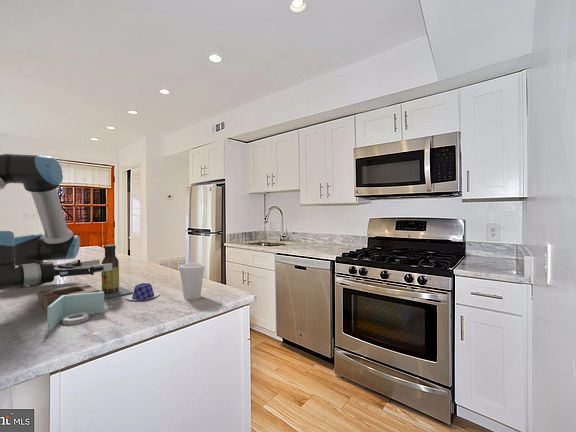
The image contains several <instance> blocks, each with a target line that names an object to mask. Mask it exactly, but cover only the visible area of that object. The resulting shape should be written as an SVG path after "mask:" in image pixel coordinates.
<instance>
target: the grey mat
mask: <svg viewBox="0 0 576 432" xmlns="http://www.w3.org/2000/svg"><path fill="white" fill-rule="evenodd" d="M98 290H99V292H102V289H98ZM133 293H134V291H132V290H129V289H127V288H125V287H123V286H121V285H119V291H118V292H115V293H110V294H105V293H104V301H105V300H109V299H113V298H118V297H122V296H127V295H128V296H129V295H131V294H133Z"/></svg>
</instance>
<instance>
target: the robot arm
mask: <svg viewBox="0 0 576 432" xmlns="http://www.w3.org/2000/svg"><path fill="white" fill-rule="evenodd" d="M63 173H64V172H63V169H62V165H61V164H60V162H59V161H58V160H57V159H56V158H55V157H52V156H49V155H48V156H47V155H42V154H38V155H33V154H14V153H3V154H0V191H1V190H4V189H5V188H6V185H9V184H21V185H23V188H24V190H25V191H26V192H28V193H31V197H32V200H33V202H34V206H35V208H36V210H37V214H38V216H39V219H40V223H41V226H42V229H43V231H44V234H43V233H33V234H26V235H20V236H15V233H14V232H13V231H10V230H0V291H4V290H9V289H15V288H22V287H26V288H30V287H31V286H36V285H40V284H47V283H53V282H54V280H55V277H56V276H59V277H60V278H64V277H73V276H85V275H86V276H87V275H90V276H94V275H95V274H96V273H102V271H109V270H112V263H108V264H102V263H101V264H100V261H101V260H100V258H99V259H97V258H96V259H90V260H88V259H87V260H83V261H81V259H77V260H75V261H71V262H70V261H69V262H66V263H65V262H64V263H60V264H54V263H53V262H52V261H61V260H62V261H63V260H64V261H67V260H72V259H75V258H77V256H78V254H79V251H80V248H81V247H80V246H81V238H80V236H79V235H76V234H75V235H74V232H73V231H72V230H71V229H69V228H68V225H67V222H66V218H65V215H64V211H63V208H62V205H61V201H60V200H61V199H60V197H59V194H58V190H57V189H58V188H59V187H60V184H62V182H63V180H64V179H63V178H64V175H63Z"/></svg>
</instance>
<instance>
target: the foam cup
mask: <svg viewBox="0 0 576 432" xmlns="http://www.w3.org/2000/svg"><path fill="white" fill-rule="evenodd" d="M179 273H180V280H181V287H182V294H183V298H184V300H188V301H193V299H194V300H198V299H200V298H201V295H202V286H203V278H204V273H205V264H204V263H200V262H199V263H197V262H193V263H184V264H180V265H179Z"/></svg>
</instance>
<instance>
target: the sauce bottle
mask: <svg viewBox="0 0 576 432" xmlns="http://www.w3.org/2000/svg"><path fill="white" fill-rule="evenodd" d="M116 247H117V245H116V244H105V245H104V248H103V250H104V258H103V259H102V261H101V264H108V263H112V270H109V271H102V272H101V290H102V292H104V293H105V294H110V293H115V292H118V291H119V286H120V265H119V264H120V263H119V259H118V257H117V255H116V249H117V248H116Z"/></svg>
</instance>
